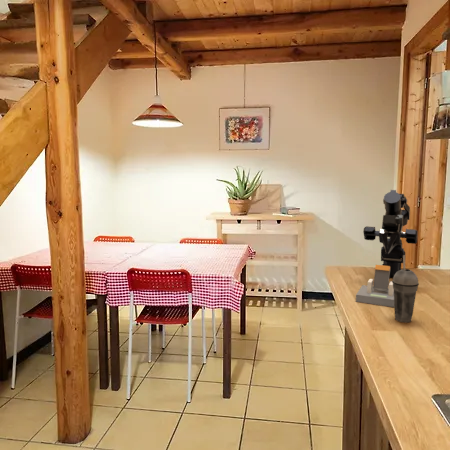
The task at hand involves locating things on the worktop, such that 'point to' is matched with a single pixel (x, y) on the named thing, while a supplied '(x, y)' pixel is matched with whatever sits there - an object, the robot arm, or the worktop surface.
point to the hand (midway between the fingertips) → (387, 253)
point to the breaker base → (376, 295)
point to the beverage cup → (404, 293)
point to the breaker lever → (381, 278)
